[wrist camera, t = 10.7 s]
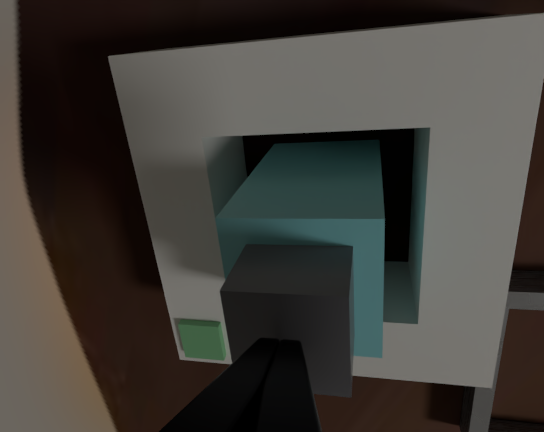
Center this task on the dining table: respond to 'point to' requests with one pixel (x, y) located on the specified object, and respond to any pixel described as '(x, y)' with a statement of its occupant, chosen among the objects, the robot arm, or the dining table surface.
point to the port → (350, 117)
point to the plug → (308, 256)
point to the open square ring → (478, 400)
